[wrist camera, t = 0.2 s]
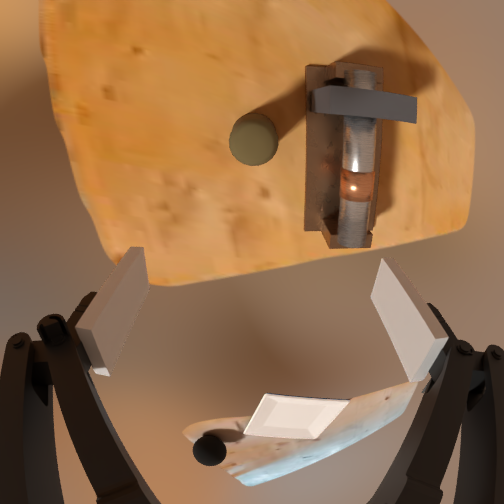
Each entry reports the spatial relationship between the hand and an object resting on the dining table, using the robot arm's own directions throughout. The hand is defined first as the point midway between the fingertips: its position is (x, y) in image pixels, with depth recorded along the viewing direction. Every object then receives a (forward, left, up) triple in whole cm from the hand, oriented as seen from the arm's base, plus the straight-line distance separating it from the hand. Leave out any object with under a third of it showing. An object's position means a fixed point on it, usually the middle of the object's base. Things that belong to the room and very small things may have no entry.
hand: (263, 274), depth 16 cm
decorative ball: (+77, -16, -28) cm, 83 cm away
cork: (-5, 0, -28) cm, 28 cm away
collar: (-9, +12, -26) cm, 30 cm away
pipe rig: (-2, +12, -28) cm, 30 cm away
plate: (+62, +8, -28) cm, 69 cm away
